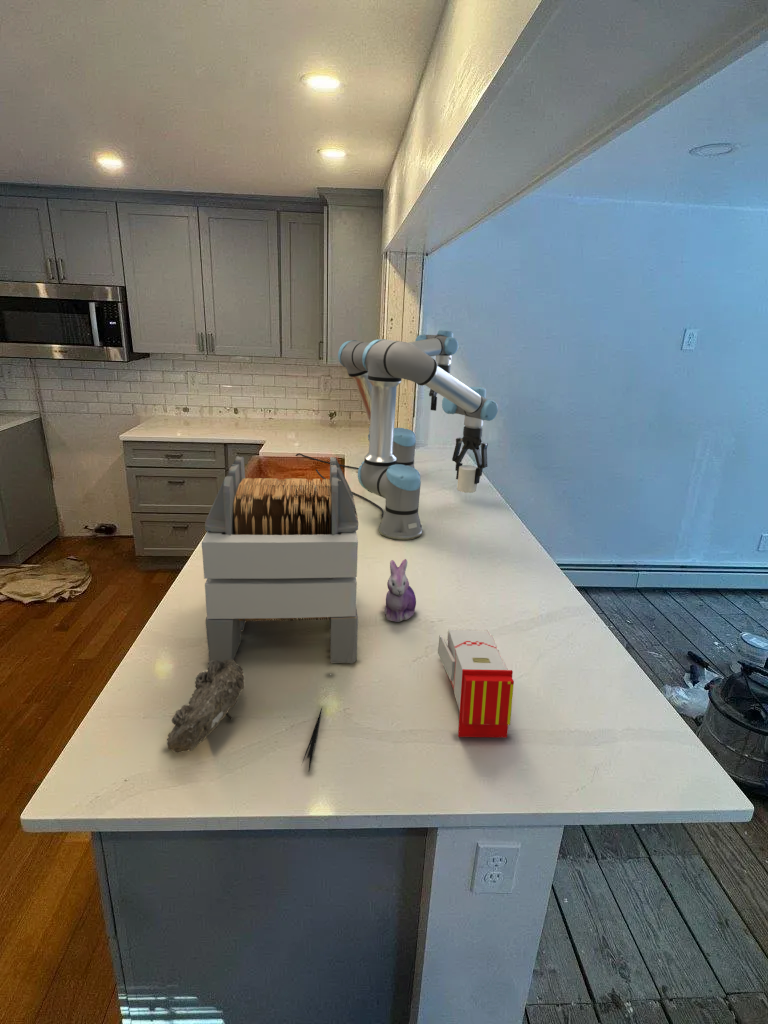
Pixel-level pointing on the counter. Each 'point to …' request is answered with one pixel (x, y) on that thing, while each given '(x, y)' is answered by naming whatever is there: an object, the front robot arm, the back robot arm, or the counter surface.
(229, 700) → the fossil
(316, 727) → the feather
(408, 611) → the figurine
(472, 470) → the cylinder
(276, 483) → the record crate stand
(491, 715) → the toy
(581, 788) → the counter surface
